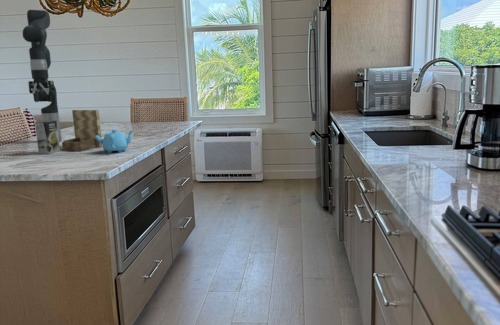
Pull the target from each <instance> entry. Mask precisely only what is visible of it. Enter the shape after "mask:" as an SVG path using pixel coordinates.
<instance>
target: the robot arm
mask: <svg viewBox="0 0 500 325" xmlns="http://www.w3.org/2000/svg"><path fill="white" fill-rule="evenodd" d="M26 18H27V25H26V26H25V27H24V28H23V30H22V38H23V39H24V40H25V41H26V42H28V43H30V44H31V45H30V48H29V50H28V51H29V52H28V53H29V54H28V55H29V59H30V60H29V62H30V63H29V65H30V73H31V79H32V80H29V81H28V91H29V94H31V95H33V101H34V103H38V102H47V103H50V104H48V105H46V106H45V107H42V108H41V109H40V111H41V112H40V113H41V122H43V121H57V129H58V138H59V142H63V140H62V131H61V130H62V129H61V125H60V116H59V109H58V108H59V106H58V98H57V95H58V94H57V88H56V86H55V84H54V80H49V69H50V67H51V64H52V61H51V52H50V50H49V48H48V47H47V45H46V42H47V37H48V34H47V29H48V28H50V26H51V17H50V13H49V12H48V10H47V11H46V10H42V9H39V10H38V9H28V10H27V12H26Z"/></svg>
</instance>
